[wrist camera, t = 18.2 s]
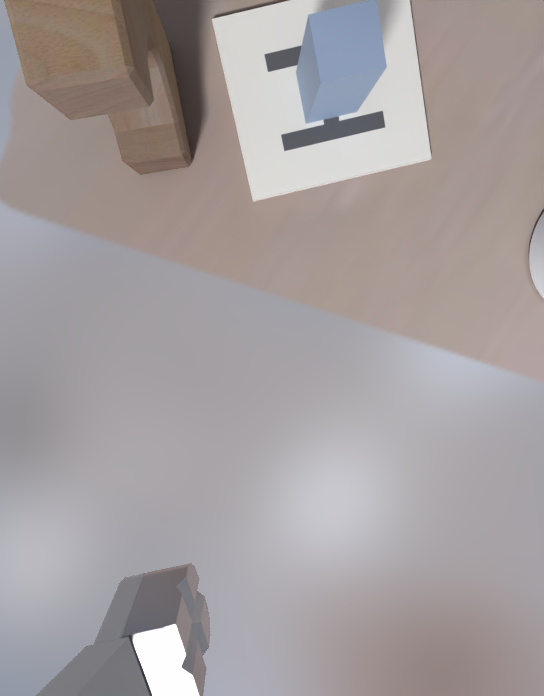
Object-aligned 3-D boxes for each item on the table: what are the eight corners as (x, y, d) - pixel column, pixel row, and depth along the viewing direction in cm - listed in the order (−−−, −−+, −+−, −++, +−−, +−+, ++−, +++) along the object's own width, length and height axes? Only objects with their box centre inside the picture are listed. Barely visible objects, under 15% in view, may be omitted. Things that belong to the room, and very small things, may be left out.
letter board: (403, -23, 37) (406, -28, 37) (428, 160, 41) (431, 158, 40) (212, 22, 37) (211, 18, 37) (253, 201, 41) (253, 200, 40)
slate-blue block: (348, 60, 38) (376, -2, 29) (356, 111, 39) (386, 67, 30) (295, 72, 38) (308, 14, 29) (305, 124, 39) (320, 82, 30)
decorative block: (193, 167, 40) (134, 74, 20) (135, 176, 40) (20, 90, 20) (171, 40, 38) (81, -203, 18) (110, 49, 38) (-48, -186, 18)
